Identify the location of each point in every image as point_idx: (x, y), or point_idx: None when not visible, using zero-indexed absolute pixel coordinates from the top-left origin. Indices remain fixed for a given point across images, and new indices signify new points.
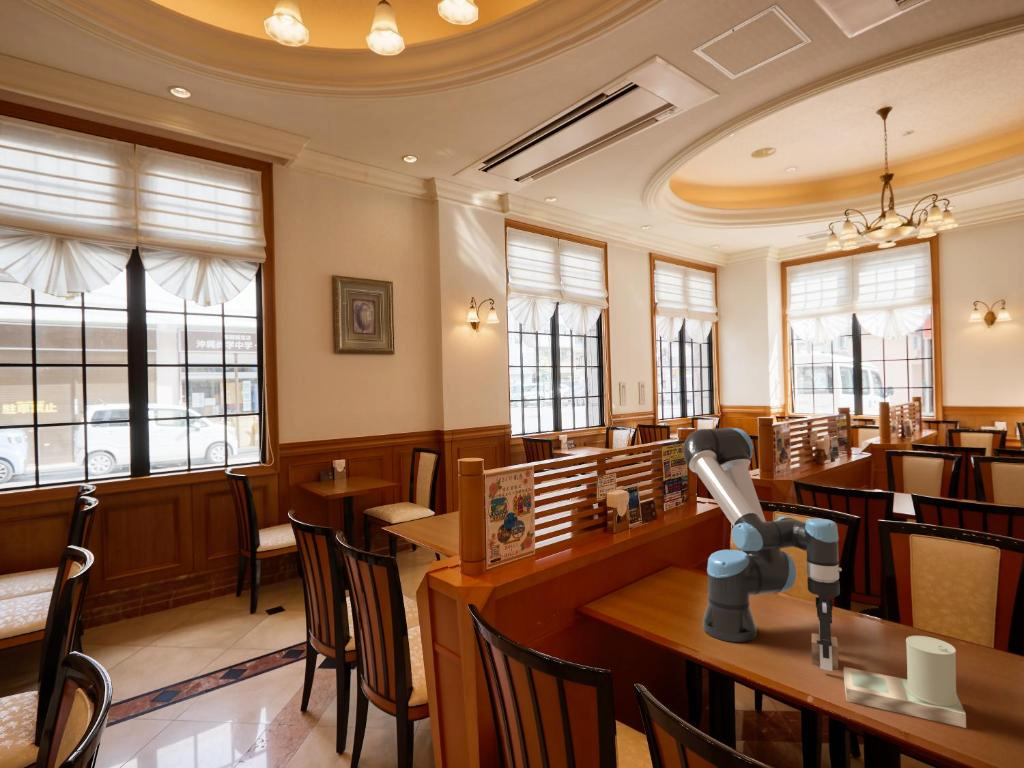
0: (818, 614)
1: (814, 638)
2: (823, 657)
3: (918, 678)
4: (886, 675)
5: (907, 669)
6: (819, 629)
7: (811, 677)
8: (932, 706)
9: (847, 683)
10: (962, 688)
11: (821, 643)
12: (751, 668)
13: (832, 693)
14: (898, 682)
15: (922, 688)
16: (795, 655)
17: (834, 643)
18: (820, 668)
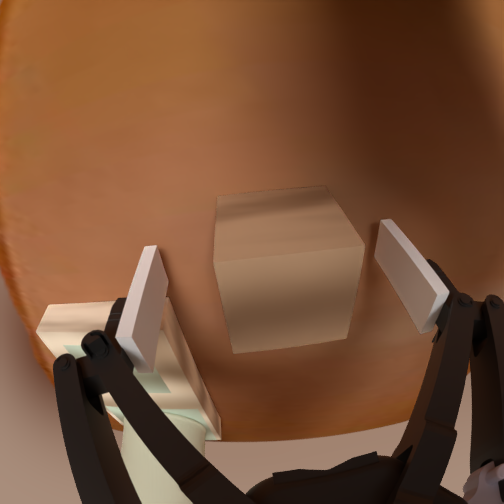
0: (189, 496)
1: (283, 268)
2: (117, 301)
3: (121, 454)
4: (195, 394)
5: (144, 454)
6: (420, 272)
7: (95, 212)
8: (119, 421)
9: (60, 335)
10: (283, 420)
11: (57, 365)
12: (24, 9)
13: (53, 276)
14: (174, 405)
15: (122, 440)
16: (274, 117)
17: (267, 342)
18: (144, 247)
